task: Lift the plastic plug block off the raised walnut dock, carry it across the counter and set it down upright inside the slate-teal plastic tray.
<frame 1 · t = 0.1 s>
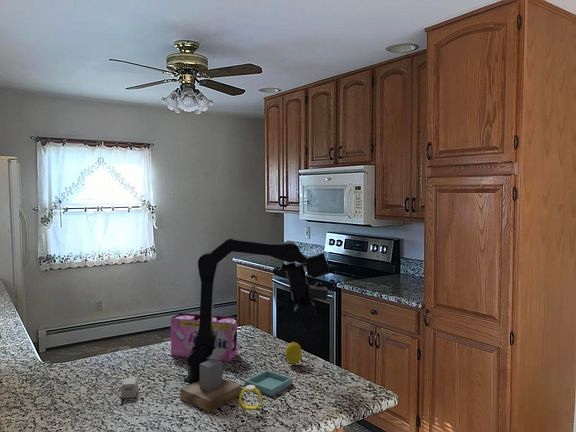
hand: (309, 329, 141), 15 cm above the countertop, tool pointing down, fingers open, 9 cm apart
walnut dock: (211, 397, 128), on the countertop
teal tray: (268, 385, 136), on the countertop
plug block: (211, 387, 128), point 3 cm above the countertop, touching walnut dock
usb wall charger: (130, 393, 131), on the countertop
watch: (250, 408, 122), on the countertop
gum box: (204, 355, 162), on the countertop
lemon: (293, 365, 153), on the countertop
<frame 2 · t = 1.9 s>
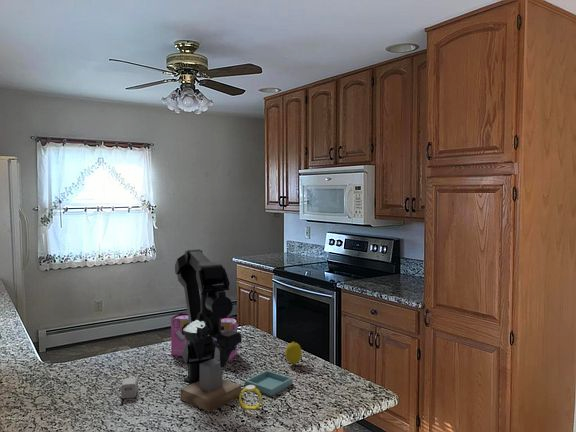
hand: (211, 363, 128), 10 cm above the countertop, tool pointing down, fingers open, 9 cm apart
nothing on the countertop moved.
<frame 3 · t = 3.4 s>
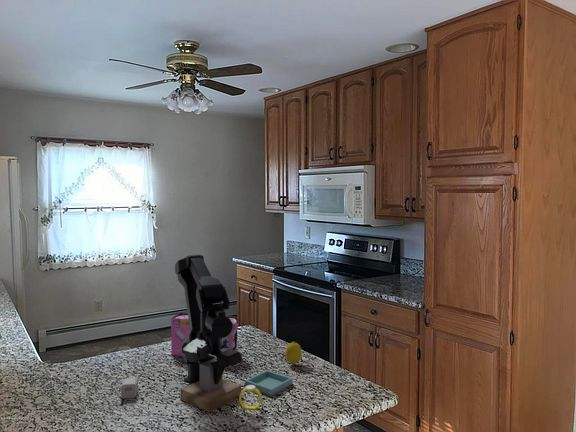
hand: (211, 381, 128), 5 cm above the countertop, tool pointing down, fingers closed on plug block, 4 cm apart
plug block: (211, 387, 128), point 3 cm above the countertop, touching gripper, walnut dock
everything else where it was.
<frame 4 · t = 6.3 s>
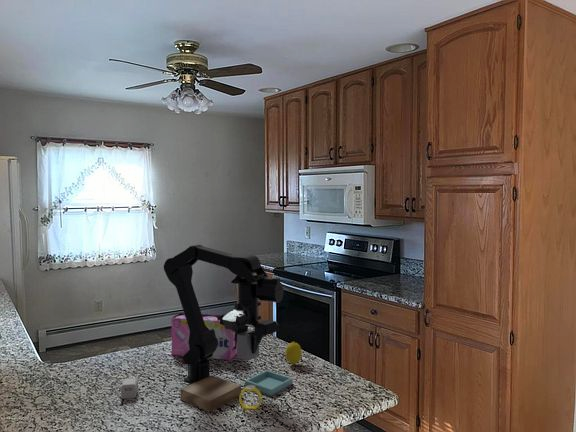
hand: (248, 351, 132), 12 cm above the countertop, tool pointing down, fingers closed on plug block, 4 cm apart
plug block: (248, 357, 132), point 10 cm above the countertop, touching gripper
everything else where it was.
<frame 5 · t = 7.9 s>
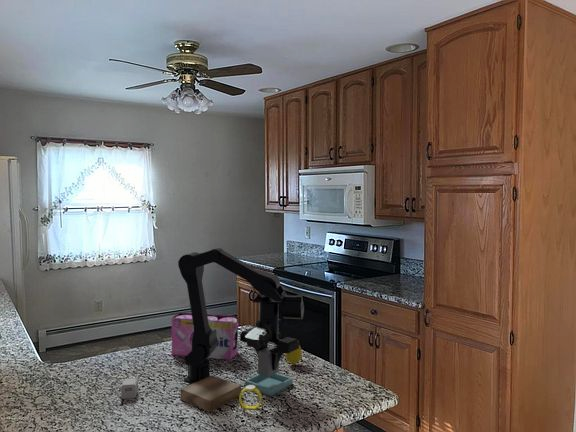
hand: (268, 368, 136), 5 cm above the countertop, tool pointing down, fingers closed on plug block, 4 cm apart
plug block: (268, 373, 136), point 4 cm above the countertop, touching gripper
when the fingers open (3 cm above the countertop, at t = 9.0 s): plug block drops 1 cm, resting on teal tray.
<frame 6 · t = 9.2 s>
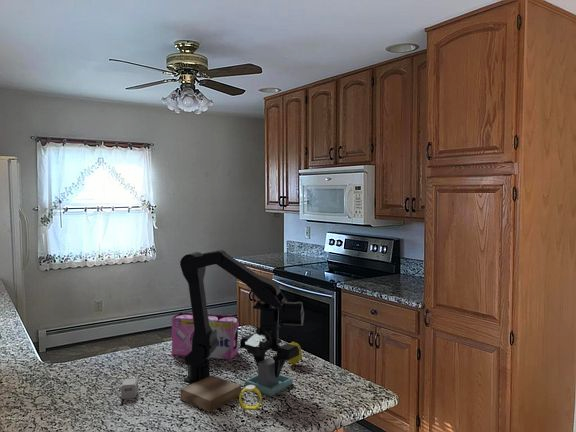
hand: (268, 374, 136), 3 cm above the countertop, tool pointing down, fingers open, 6 cm apart
plug block: (268, 384, 136), resting on teal tray
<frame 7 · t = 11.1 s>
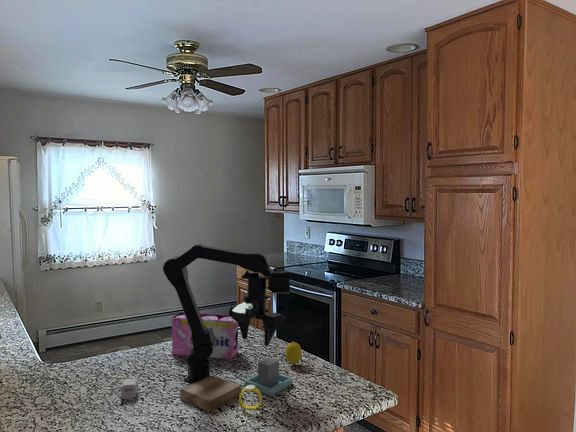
hand: (255, 342, 140), 12 cm above the countertop, tool pointing down, fingers open, 9 cm apart
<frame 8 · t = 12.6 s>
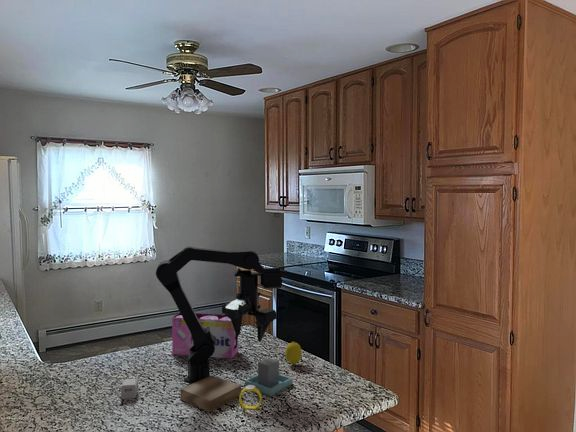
hand: (248, 338, 143), 12 cm above the countertop, tool pointing down, fingers open, 9 cm apart
at the end: plug block 0.1 cm off-centre on the teal tray, point 0.5 cm above the teal tray's base; the gripper is holding nothing; plug block tilted 0° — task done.
